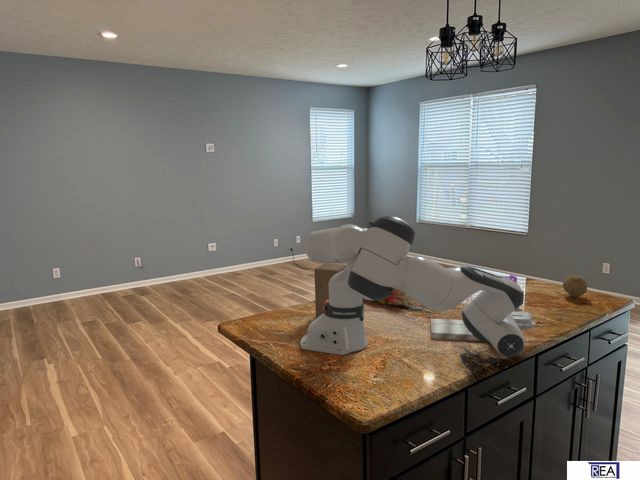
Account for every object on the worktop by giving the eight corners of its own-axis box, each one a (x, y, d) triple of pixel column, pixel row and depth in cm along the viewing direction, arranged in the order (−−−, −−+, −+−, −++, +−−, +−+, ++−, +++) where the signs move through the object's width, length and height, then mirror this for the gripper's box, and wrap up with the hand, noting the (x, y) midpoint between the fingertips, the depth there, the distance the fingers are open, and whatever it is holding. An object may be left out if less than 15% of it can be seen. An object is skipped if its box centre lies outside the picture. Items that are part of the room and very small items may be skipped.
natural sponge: (556, 295, 195) (558, 273, 193) (571, 293, 198) (572, 271, 197) (575, 301, 187) (577, 278, 185) (590, 298, 190) (592, 275, 188)
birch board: (431, 338, 153) (431, 332, 152) (430, 323, 166) (430, 318, 166) (506, 342, 147) (506, 336, 147) (499, 326, 161) (499, 321, 161)
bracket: (516, 290, 205) (517, 275, 204) (508, 292, 203) (509, 277, 201) (492, 284, 216) (493, 270, 215) (485, 286, 214) (485, 271, 212)
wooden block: (315, 318, 176) (313, 268, 172) (325, 310, 185) (324, 263, 181) (338, 321, 171) (337, 270, 168) (348, 313, 180) (347, 264, 177)
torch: (363, 305, 201) (414, 308, 186) (354, 301, 195) (406, 303, 180) (366, 287, 203) (416, 288, 188) (356, 283, 197) (408, 284, 182)
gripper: (538, 317, 133) (527, 303, 147) (466, 314, 138) (462, 300, 151) (536, 337, 134) (526, 321, 148) (465, 333, 139) (461, 318, 152)
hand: (493, 310), depth 149 cm, fingers open, 7 cm apart
